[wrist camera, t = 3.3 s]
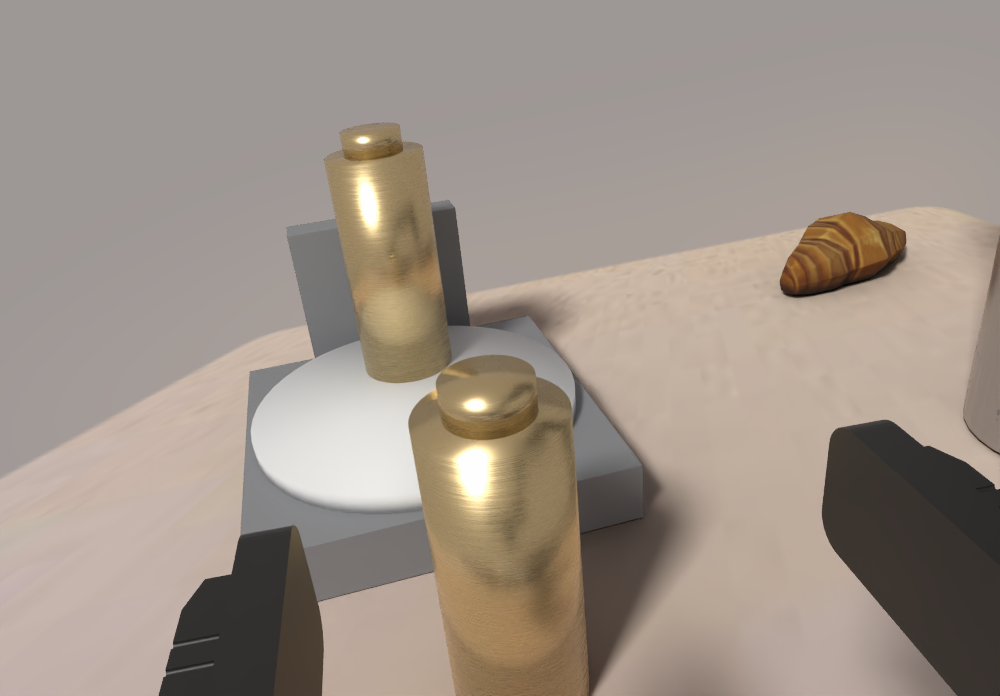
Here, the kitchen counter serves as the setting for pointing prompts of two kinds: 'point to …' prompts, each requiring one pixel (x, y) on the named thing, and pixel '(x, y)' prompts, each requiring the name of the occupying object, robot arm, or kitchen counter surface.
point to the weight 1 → (390, 252)
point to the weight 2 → (503, 527)
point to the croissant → (840, 253)
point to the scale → (388, 428)
